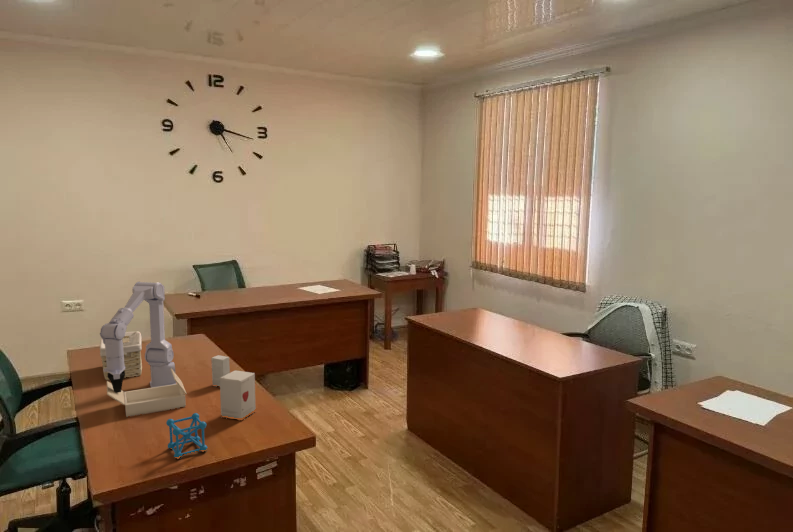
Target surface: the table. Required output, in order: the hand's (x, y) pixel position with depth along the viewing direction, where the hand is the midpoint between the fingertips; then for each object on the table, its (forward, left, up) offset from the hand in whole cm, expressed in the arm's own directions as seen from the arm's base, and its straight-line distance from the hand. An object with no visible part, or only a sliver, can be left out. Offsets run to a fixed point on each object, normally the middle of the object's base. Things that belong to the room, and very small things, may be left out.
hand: (117, 391), depth 203 cm
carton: (-12, 0, -7) cm, 14 cm away
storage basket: (-3, -47, -8) cm, 48 cm away
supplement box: (-38, +23, -8) cm, 45 cm away
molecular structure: (-18, +43, -8) cm, 47 cm away
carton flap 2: (-21, 0, +1) cm, 21 cm away
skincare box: (-38, -10, -8) cm, 40 cm away
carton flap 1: (+1, 0, 0) cm, 1 cm away
